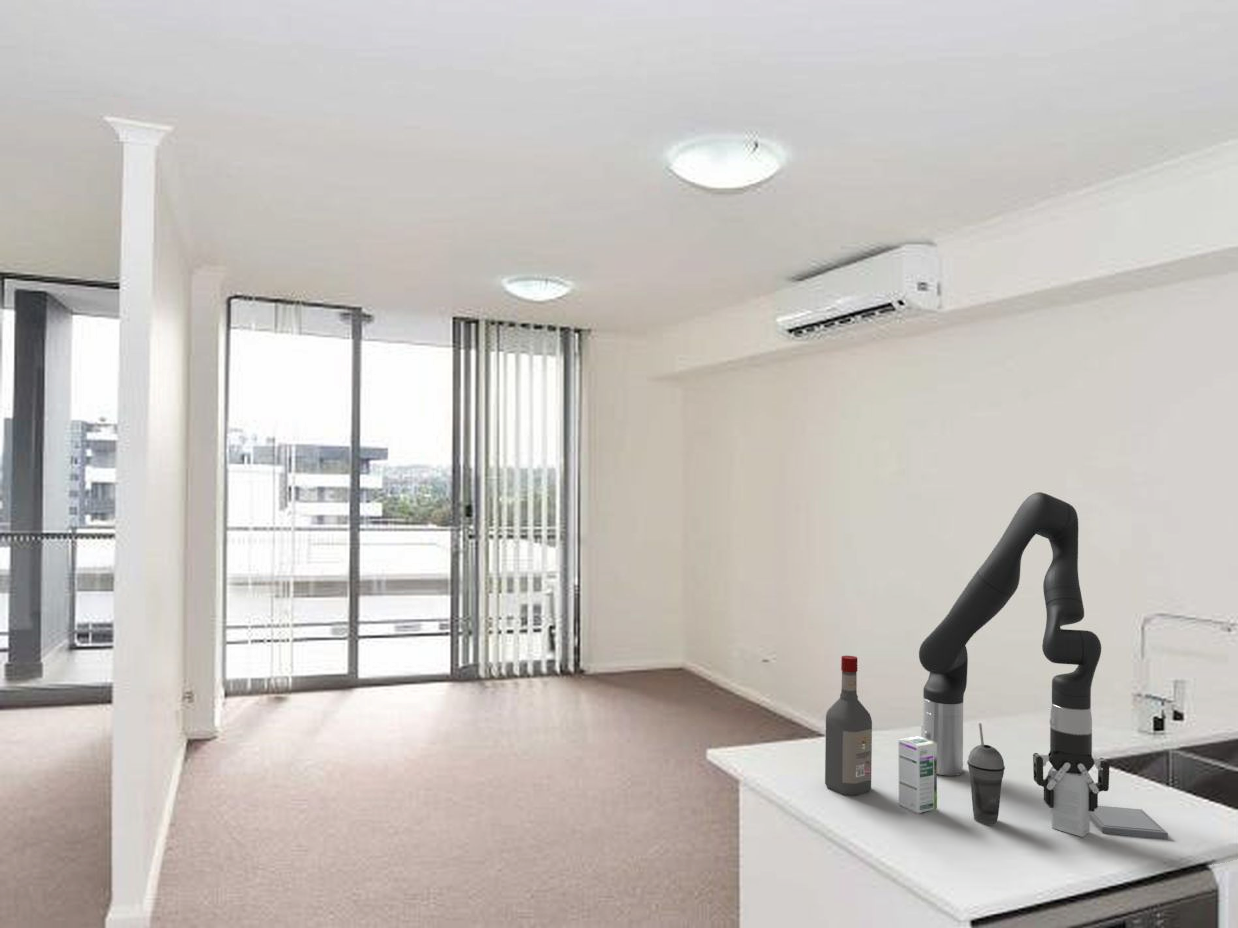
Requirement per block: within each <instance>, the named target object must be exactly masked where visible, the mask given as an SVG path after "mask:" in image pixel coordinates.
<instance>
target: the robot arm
mask: <svg viewBox="0 0 1238 928" xmlns="http://www.w3.org/2000/svg"><path fill="white" fill-rule="evenodd" d="M1036 535H1037V536H1041V537H1043V538H1045V539H1048V541H1049V545H1050V548H1051V552H1052V560H1051V563H1050V564H1049V566H1048V568H1047V571H1046V573H1045V575H1044V579H1043V582H1042V583H1043V585H1042V586H1043V587H1042V588H1043V590H1042V591H1043V597H1044V603H1045V611H1046V623H1045V630H1044V633H1043V634H1044V635H1043V639H1042V646H1041V647H1042V652H1043V655H1044V657H1045V658H1046V659H1047V660H1048V661H1049V662H1051V663H1053V664H1060V665H1061V664H1062V665H1076V666H1077V667H1075V669H1074V670H1073V671H1072V672H1068V673H1061V674H1056V675H1055V676H1053V677H1052V681H1051V707H1050V708H1051V709H1050V715H1049V716H1050V717H1049V724H1050V725H1049V726H1050V727H1049V731H1050V733H1049V737H1050V738H1049V739H1050V740H1049V742H1050V743H1049V746H1050V747H1049V749H1050V750H1049V753H1048V754H1040V753H1038V752H1034V753H1033V754H1032V761H1033V762H1032V765H1033V780H1034V782H1035V783H1036V784H1037V785H1038V786H1040V787H1043V801H1044V803H1045V804H1046V805H1047V806H1048V808H1049V809H1052V808H1054V790H1053V787H1054V786H1055V785H1056V783H1057V782H1059V781H1060V780H1061V778H1062V777H1063V775H1064V774H1065V773H1075V774H1082V775H1086V781H1087V783H1088V785H1089V810H1090V811H1093V812H1094V811H1095V809H1097V807H1098V806H1099V804H1098V803H1099V802H1098V801H1099V797H1098V796H1099V793H1100V792H1108V791H1109V789H1110V787H1109V786H1110V763H1109V762H1108V761H1107V760H1106V759H1105V758H1104V757H1100V758H1093V718H1092V716H1093V715H1092V710H1091V709H1092V708H1091V706H1092V705H1091V703H1092V702H1091V700H1092V698H1091V696H1092V695H1091V693H1092V684H1093V679H1094V677H1095V672H1096V670H1097V667H1098V664H1099V662H1100V659H1101V655H1102V644H1101V640H1100V639H1099V636H1098V635H1096V633H1094V632H1093V631H1091V630H1084V629H1066V628H1065V629H1064V628H1061V627H1062V626H1068V625H1072V624H1073V625H1074V624H1077V623H1079V622H1081V621H1082V620H1083V619H1084V618H1085V608H1084V603H1083V597H1082V591H1081V586H1080V580H1079V565H1078V564H1079V517H1078V513H1077V510H1076V509H1075V507H1074V506H1073V505H1071V504H1070V503H1068V502H1066V501H1064V500H1061V499H1060V498H1057V497H1055V496H1053V495H1050V494H1047V493H1044V492H1042V491H1041V492H1039V491H1038V492H1035V493H1032V494H1030V495H1029V496H1027V497H1026V498H1025V500H1023V502H1022V503H1021V504H1020V506H1019V507H1018V509H1017V511H1016V512H1015V514H1014V515H1013V517H1012V519H1011V521H1010V523H1009V524H1008V526H1007V528H1006V529H1005V531H1004V532H1003V534H1002V536H1001V538H1000V539H999V541H998V542H997V544H996V545H995V546H994V548H993V549H992V551H991V552H990V554H989V555H988V557H987V558H986V560H984V562H983V563H982V564H981V566H979V568H978V569H977V570H976V572H975V574H974V575H973V576H972V578H971V579H970V580H969V582H968V583H967V585H966V587H965V588H964V589H963V591H962V592H961V594H960V595H959V596H958V598H957V599H956V601H955V603H954V604H953V605H952V607H951V609H950V610H949V612H948V613H947V615H946V616H945V617H944V619H943V620H942V621H941V622H940V623H939V624H938V625H937V626H936V627H935V628H934V630H933V631H931V633H930V634H929V635H928V636H927V637H926V638H925V639H924V640H923V641H922V643H921V644H920V646H919V651H918V660H919V662H920V664H921V666H922V667H923V669H924V670H925V671H927V672H928V673H929V675H928V679H927V681H926V683H925V685H924V686H923V690H922V691H923V693H922V695H923V707H922V710H923V712H922V713H923V715H922V718H923V719H922V725H921V729H920V732H921V736H920V737H923V738H926V739H929V740H931V741H934V742H936V743H937V775H941V776H948V777H949V776H951V777H952V776H953V777H954V776H959V775H962V774H963V771H964V697H965V692H966V689H967V684H968V666H969V664H968V663H969V662H968V661H969V659H968V658H969V656H968V649H967V646H966V645H967V644H968V642H969V641H970V639H971V638H972V637H974V635H975V634H976V633H977V632H979V630H980V629H981V628H983V627H984V626H985V625H986V624H987V623H989V622H990V621H991V620H992V619H993V618H995V616H996V615H998V614H999V612H1000V611H1001V610H1002V609H1003V608H1004V607H1005V606H1006V604H1008V603H1009V601H1010V600H1011V598H1012V597H1013V596H1014V594H1015V593H1016V591H1017V589H1018V588H1019V585H1020V581H1021V580H1020V579H1021V566H1022V565H1021V564H1022V563H1021V562H1022V556H1023V554H1024V551H1025V549H1026V548H1027V547H1028V545H1029V543H1030V542H1031V541H1032V539H1033V538H1034V537H1035V536H1036ZM1048 762H1049V763H1050V764H1051V767H1050V769H1049V770H1048V772H1047V775H1046V776H1045V778H1044V767H1045V766H1046V765H1047V763H1048ZM1093 766H1095V768H1096V769H1097V782H1095V781H1094V780H1093V778H1092V776H1091V774H1090V773H1089V772H1090V770H1092V768H1093ZM1052 769H1055V770H1056V771H1057V772H1056V773H1055V774H1053V773H1051V770H1052Z"/></svg>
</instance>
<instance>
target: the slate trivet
mask: <svg viewBox="0 0 1238 928" xmlns="http://www.w3.org/2000/svg"><path fill="white" fill-rule="evenodd" d="M1089 815H1090V821H1091V823H1093V825H1094V826H1095V827H1096V828H1097V829H1098V830H1099V831H1100V832H1101V833H1102V834H1108V835H1109V834H1110V835H1121V836H1131V837H1142V838H1154V839H1165V840H1168V837H1169V833H1168V831H1166V830H1165V829H1164V828H1163V827H1162V826H1161V825H1160V824H1158V823H1157V822H1156V820H1154V819H1153V818H1152V817H1151V816H1149V815H1148V814H1147V813H1146V812H1145V811H1144V810H1143V809H1142V808H1141V809H1139V808H1129V807H1117V806H1108V805H1107V806H1106V805H1105V806H1104V805H1098V807H1097V809H1095V811H1094V812H1093V811H1090V810H1089Z"/></svg>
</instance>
